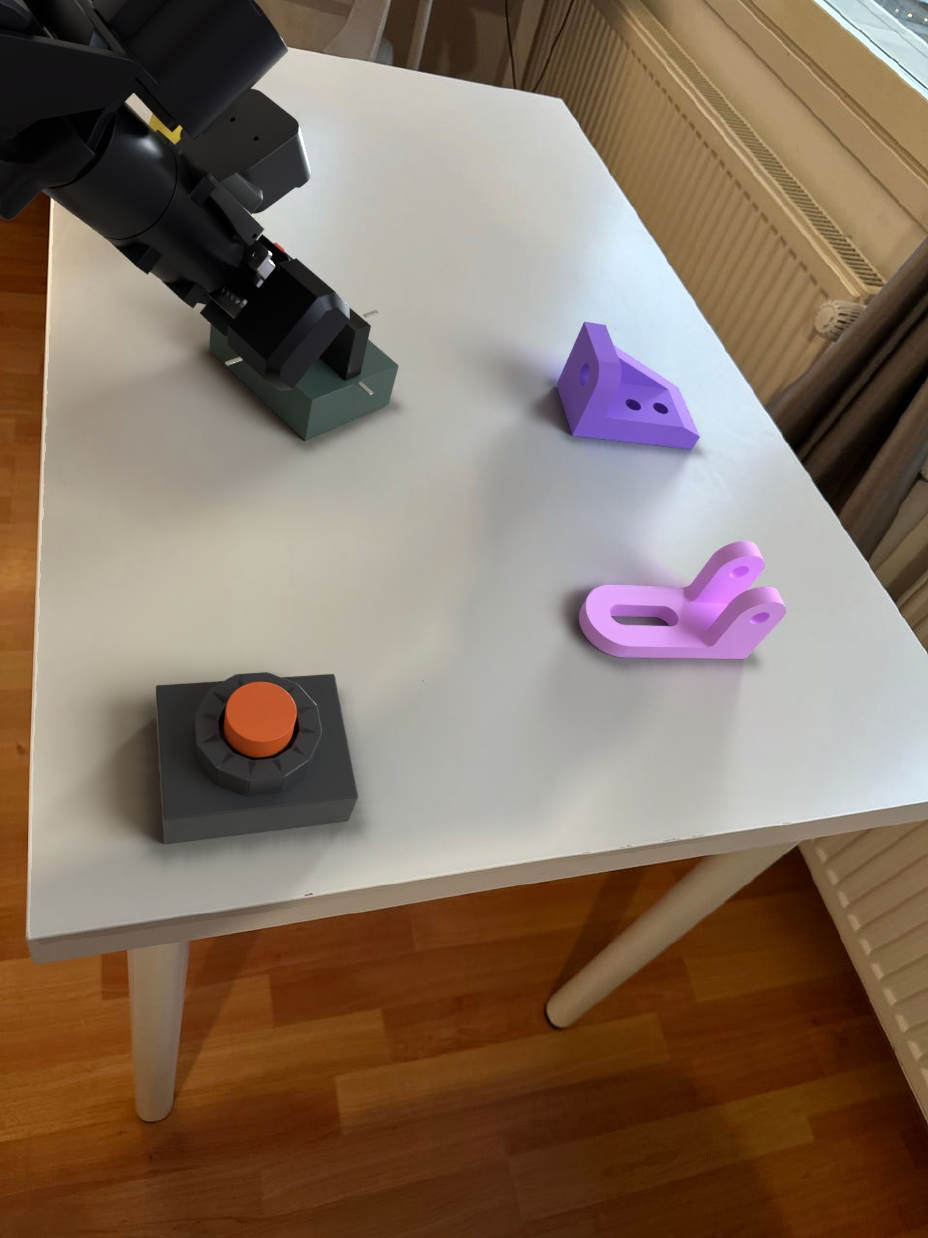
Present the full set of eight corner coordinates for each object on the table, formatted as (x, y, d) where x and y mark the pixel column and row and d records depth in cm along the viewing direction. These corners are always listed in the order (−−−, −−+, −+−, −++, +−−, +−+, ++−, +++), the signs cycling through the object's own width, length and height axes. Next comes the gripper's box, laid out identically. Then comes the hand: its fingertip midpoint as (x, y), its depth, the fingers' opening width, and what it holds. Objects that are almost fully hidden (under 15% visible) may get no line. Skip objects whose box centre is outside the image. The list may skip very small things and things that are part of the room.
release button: (227, 761, 45) (229, 744, 44) (220, 701, 47) (222, 683, 46) (297, 754, 46) (301, 738, 45) (288, 696, 48) (291, 679, 47)
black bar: (360, 374, 68) (372, 322, 64) (345, 381, 67) (355, 328, 63) (270, 294, 71) (276, 240, 67) (254, 299, 70) (259, 244, 66)
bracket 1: (572, 435, 77) (602, 372, 72) (556, 384, 81) (584, 321, 75) (692, 449, 80) (729, 390, 75) (671, 399, 84) (705, 340, 79)
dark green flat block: (428, 404, 74) (440, 364, 71) (286, 468, 65) (293, 426, 62) (311, 302, 78) (317, 260, 75) (163, 349, 69) (163, 304, 66)
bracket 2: (720, 600, 69) (767, 542, 64) (745, 659, 66) (796, 603, 61) (571, 594, 65) (607, 532, 60) (589, 656, 62) (629, 596, 57)
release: (163, 845, 46) (164, 804, 42) (155, 714, 51) (155, 666, 47) (349, 821, 50) (364, 782, 46) (326, 701, 54) (339, 656, 50)
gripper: (353, 152, 41) (453, 299, 56) (117, -34, 46) (266, 147, 61) (204, 339, 42) (340, 434, 57) (-9, 139, 47) (167, 274, 62)
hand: (279, 315), depth 59 cm, fingers closed
